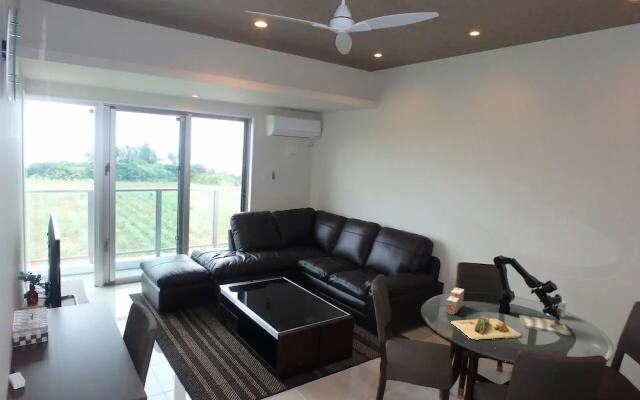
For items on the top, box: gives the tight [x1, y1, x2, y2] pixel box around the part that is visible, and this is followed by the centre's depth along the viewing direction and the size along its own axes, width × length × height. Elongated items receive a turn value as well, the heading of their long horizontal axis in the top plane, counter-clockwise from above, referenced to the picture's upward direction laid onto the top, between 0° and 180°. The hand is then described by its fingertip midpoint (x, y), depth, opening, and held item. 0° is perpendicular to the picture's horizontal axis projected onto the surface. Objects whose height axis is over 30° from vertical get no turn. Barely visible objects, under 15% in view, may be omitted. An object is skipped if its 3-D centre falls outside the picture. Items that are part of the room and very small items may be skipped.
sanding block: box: [550, 309, 565, 330], centre depth 244 cm, size 6×7×12 cm
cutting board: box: [450, 315, 522, 341], centre depth 238 cm, size 35×23×8 cm
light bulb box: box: [546, 299, 567, 318], centre depth 268 cm, size 11×7×11 cm, turn 84°
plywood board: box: [518, 314, 572, 337], centre depth 250 cm, size 26×17×2 cm, turn 72°
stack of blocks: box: [445, 287, 465, 316], centre depth 267 cm, size 21×6×12 cm, turn 146°
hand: (560, 318), depth 243 cm, fingers closed on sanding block, 4 cm apart
